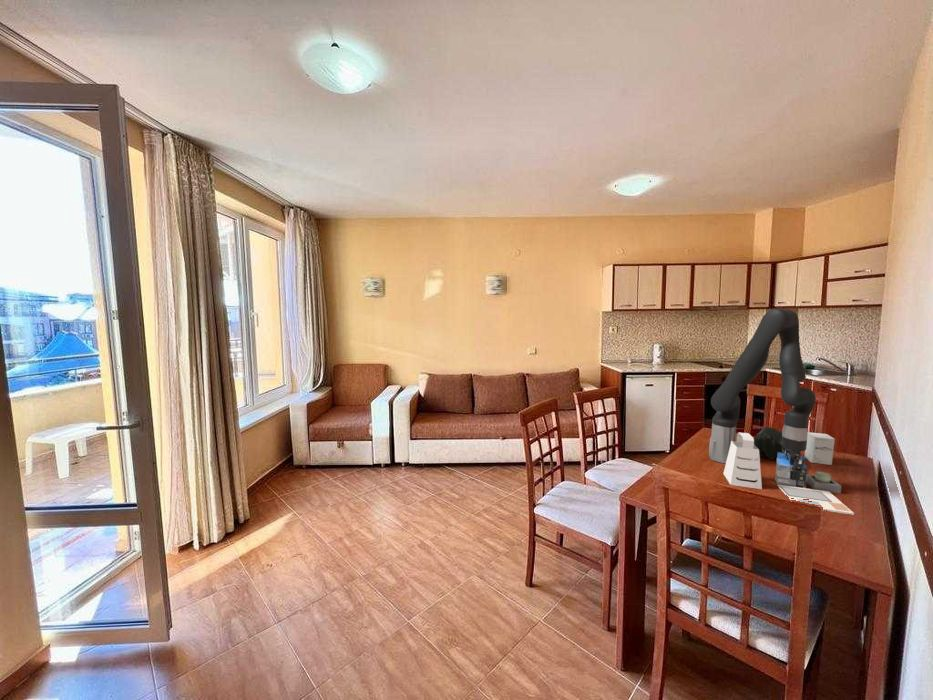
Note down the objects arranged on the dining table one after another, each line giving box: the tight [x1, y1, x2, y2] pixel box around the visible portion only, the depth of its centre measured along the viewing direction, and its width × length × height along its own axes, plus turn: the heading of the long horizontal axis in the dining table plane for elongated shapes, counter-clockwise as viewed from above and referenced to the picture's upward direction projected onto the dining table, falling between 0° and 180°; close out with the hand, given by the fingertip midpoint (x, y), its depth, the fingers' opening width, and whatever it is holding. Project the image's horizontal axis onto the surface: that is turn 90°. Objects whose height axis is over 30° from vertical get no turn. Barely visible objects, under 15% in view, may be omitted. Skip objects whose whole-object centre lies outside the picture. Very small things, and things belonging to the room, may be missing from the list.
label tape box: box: [774, 453, 808, 488], centre depth 147 cm, size 9×4×12 cm, turn 61°
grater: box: [723, 432, 763, 490], centre depth 150 cm, size 10×10×20 cm
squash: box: [753, 426, 783, 460], centre depth 174 cm, size 14×15×15 cm
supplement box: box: [804, 431, 836, 466], centre depth 168 cm, size 7×7×13 cm
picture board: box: [777, 484, 855, 516], centre depth 136 cm, size 16×16×1 cm
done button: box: [814, 470, 832, 483], centre depth 145 cm, size 4×4×4 cm
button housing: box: [806, 473, 842, 494], centre depth 145 cm, size 8×8×3 cm
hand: (790, 476), depth 147 cm, fingers closed on label tape box, 4 cm apart
